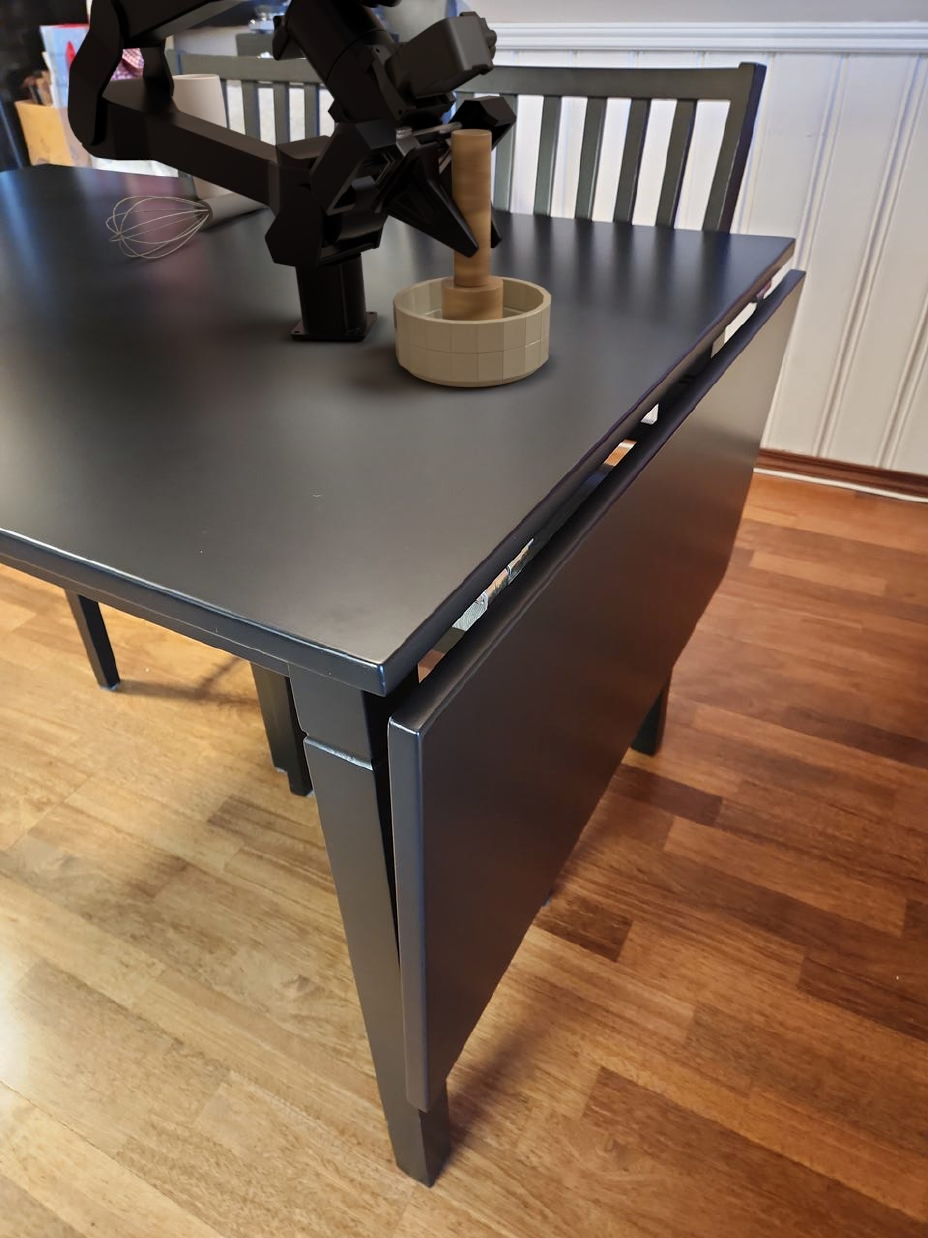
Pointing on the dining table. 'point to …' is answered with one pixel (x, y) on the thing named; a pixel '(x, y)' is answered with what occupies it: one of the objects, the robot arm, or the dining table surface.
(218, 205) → the kitchen whisk
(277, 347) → the dining table surface
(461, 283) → the pestle
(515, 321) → the bowl
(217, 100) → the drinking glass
